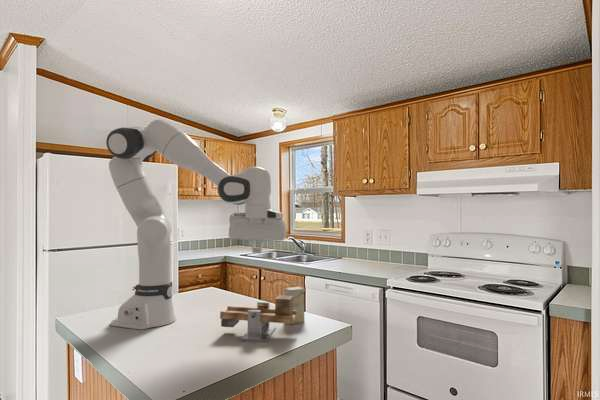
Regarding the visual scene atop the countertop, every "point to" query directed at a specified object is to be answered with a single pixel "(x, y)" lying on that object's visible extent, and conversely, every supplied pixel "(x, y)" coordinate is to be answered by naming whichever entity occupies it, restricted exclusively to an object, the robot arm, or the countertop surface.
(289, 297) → the block
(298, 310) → the skincare box
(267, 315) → the beam
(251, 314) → the pivot stand
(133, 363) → the countertop surface
